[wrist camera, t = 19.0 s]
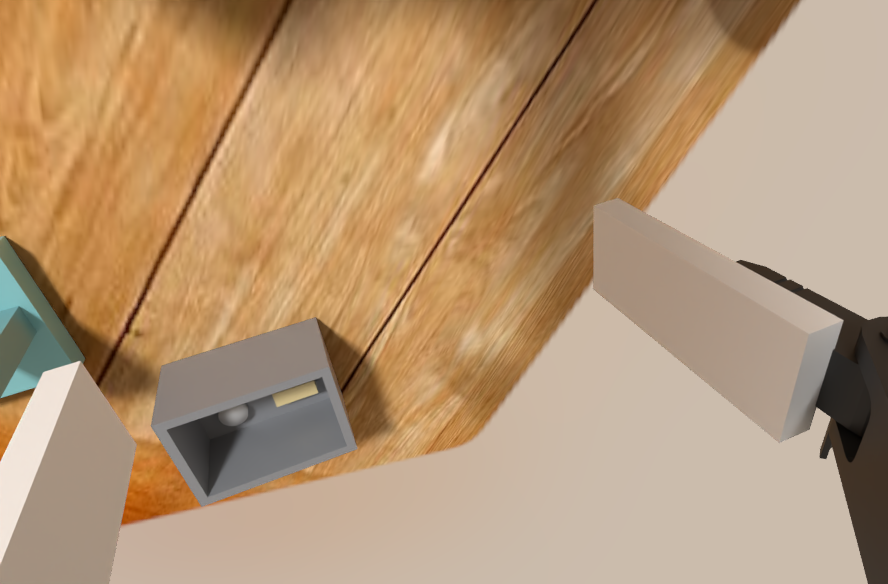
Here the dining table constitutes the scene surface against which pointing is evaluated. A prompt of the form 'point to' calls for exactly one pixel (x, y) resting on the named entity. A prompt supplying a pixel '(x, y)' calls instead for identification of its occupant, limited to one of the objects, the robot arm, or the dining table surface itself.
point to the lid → (28, 329)
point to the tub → (252, 411)
